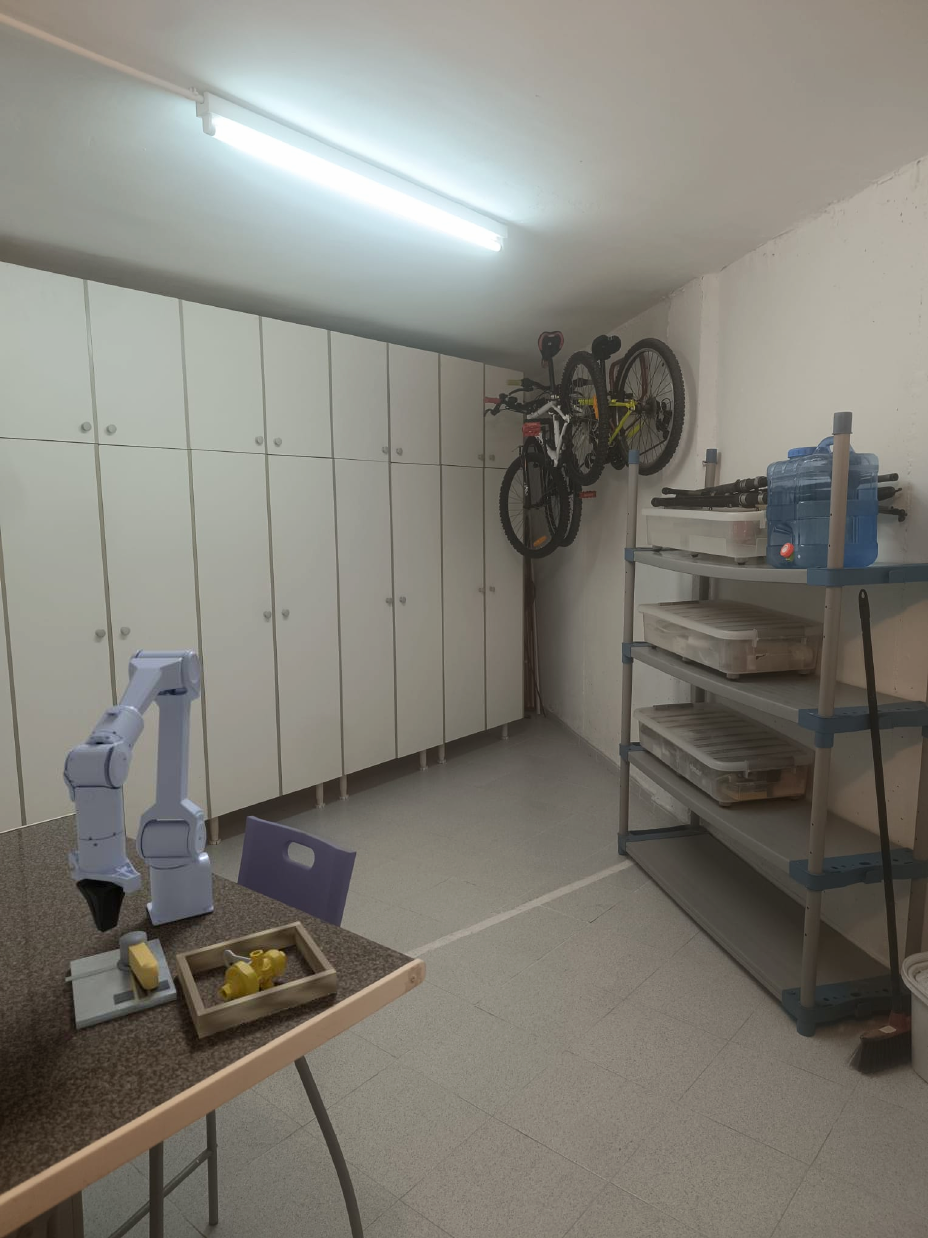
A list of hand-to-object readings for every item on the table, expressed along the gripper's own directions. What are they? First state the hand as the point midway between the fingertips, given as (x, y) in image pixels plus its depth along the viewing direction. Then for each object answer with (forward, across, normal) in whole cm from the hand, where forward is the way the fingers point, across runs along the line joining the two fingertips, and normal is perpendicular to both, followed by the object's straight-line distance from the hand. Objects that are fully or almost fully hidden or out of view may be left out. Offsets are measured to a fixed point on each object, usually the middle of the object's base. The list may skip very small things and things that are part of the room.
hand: (107, 928), depth 100 cm
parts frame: (+9, +15, +12) cm, 22 cm away
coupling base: (+9, -1, +2) cm, 9 cm away
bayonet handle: (+8, +1, +4) cm, 9 cm away
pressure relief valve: (+10, +14, +11) cm, 20 cm away
